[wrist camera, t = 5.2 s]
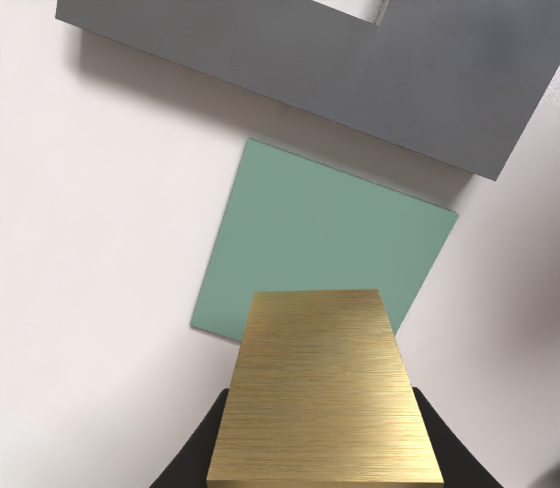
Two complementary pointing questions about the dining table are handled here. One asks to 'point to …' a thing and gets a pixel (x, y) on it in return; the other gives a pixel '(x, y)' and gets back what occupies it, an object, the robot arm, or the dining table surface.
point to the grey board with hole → (364, 62)
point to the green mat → (315, 238)
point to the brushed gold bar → (321, 399)
